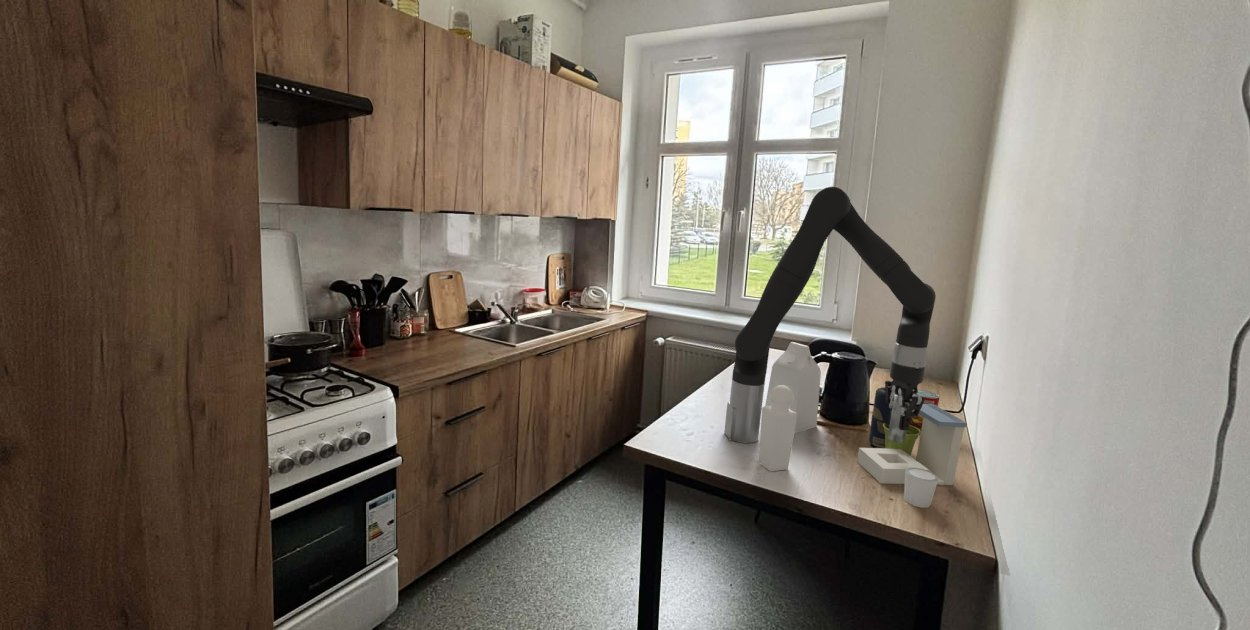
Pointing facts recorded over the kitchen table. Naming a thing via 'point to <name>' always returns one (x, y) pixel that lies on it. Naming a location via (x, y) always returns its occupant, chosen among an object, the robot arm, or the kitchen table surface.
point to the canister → (879, 419)
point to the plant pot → (909, 439)
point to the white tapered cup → (919, 487)
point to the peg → (896, 422)
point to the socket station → (920, 450)
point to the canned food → (929, 399)
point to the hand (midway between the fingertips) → (898, 425)
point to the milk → (798, 383)
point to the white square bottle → (777, 430)
